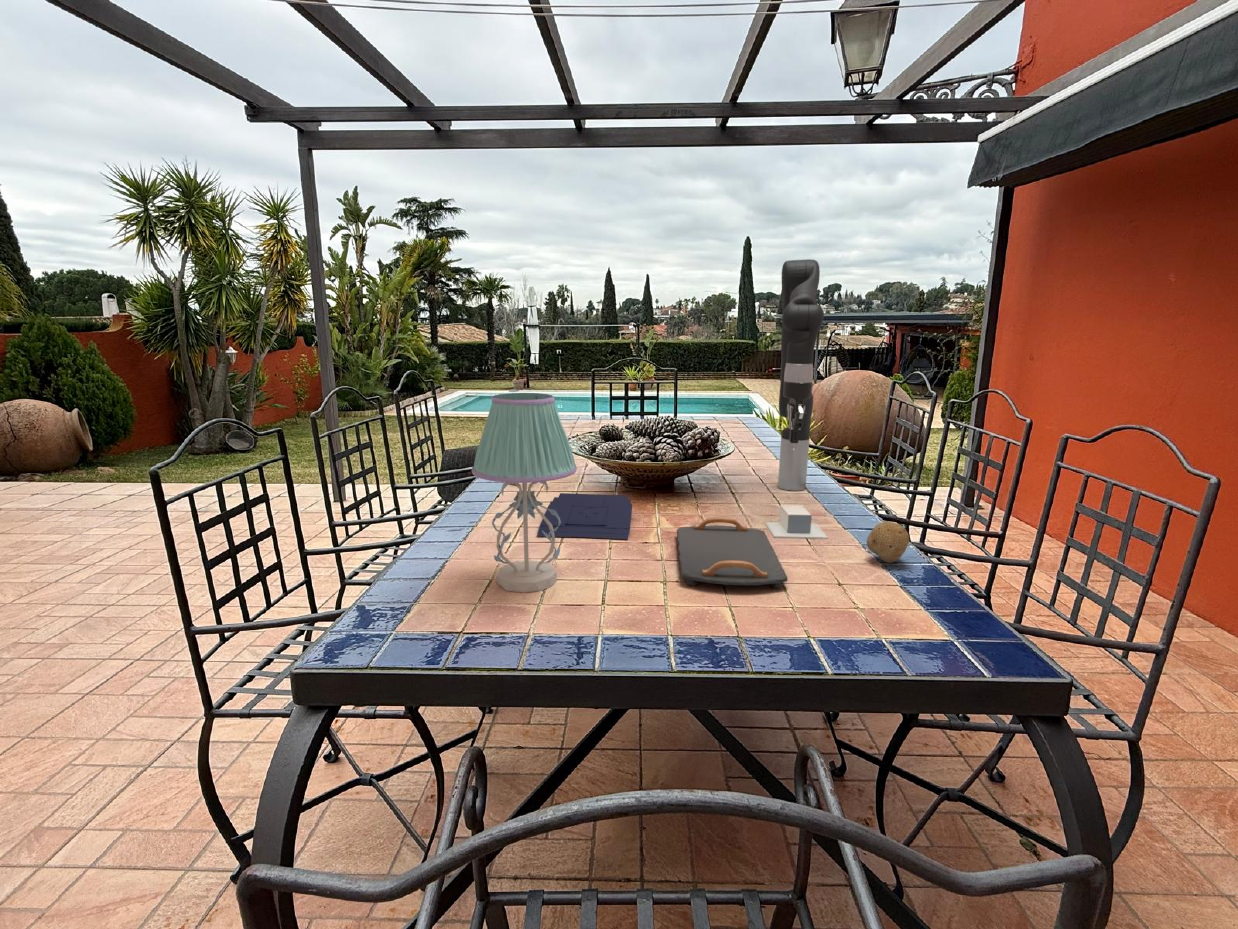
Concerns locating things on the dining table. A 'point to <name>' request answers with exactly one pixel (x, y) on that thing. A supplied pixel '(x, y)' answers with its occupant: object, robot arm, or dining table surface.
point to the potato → (888, 541)
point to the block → (795, 519)
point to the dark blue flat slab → (589, 516)
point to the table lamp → (524, 474)
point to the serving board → (727, 555)
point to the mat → (780, 532)
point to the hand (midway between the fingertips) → (793, 442)
